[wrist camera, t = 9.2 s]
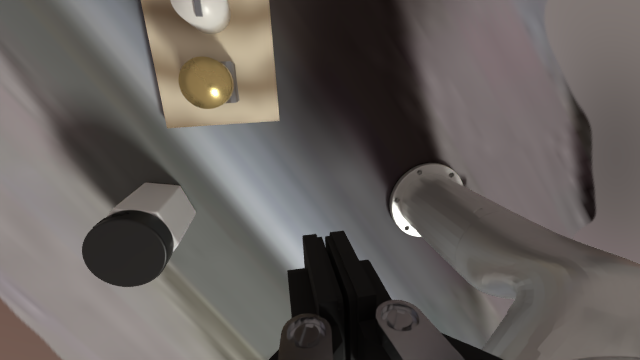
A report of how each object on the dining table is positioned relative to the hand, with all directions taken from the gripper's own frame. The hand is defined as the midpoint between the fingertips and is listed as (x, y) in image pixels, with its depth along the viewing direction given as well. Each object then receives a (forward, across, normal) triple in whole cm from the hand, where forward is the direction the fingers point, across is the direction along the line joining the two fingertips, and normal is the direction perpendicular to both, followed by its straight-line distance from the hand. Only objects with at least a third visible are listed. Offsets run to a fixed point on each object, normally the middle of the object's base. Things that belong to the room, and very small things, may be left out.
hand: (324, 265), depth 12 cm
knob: (+30, +8, -7) cm, 31 cm away
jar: (+32, +18, +9) cm, 38 cm away
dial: (+30, +8, -16) cm, 34 cm away
